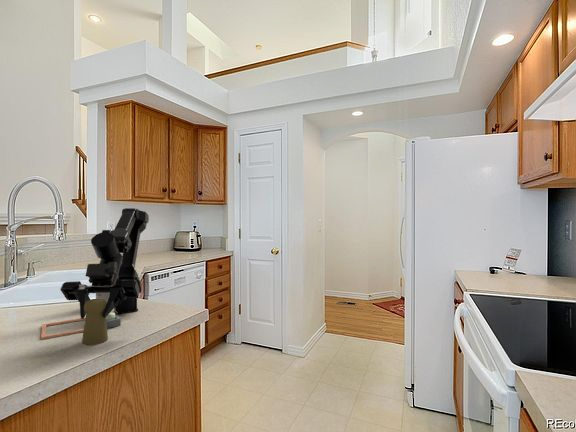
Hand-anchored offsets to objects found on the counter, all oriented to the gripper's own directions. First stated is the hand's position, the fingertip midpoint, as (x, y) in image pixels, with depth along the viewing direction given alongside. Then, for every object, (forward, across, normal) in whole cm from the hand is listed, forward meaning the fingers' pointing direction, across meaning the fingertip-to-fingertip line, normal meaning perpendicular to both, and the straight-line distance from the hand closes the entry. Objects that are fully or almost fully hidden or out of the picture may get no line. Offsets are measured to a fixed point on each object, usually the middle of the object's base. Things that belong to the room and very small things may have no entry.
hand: (93, 317), depth 83 cm
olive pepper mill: (+4, 0, +6) cm, 7 cm away
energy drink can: (-22, -10, +32) cm, 41 cm away
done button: (-5, 0, +14) cm, 15 cm away
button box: (-5, 0, +14) cm, 15 cm away
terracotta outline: (-5, -12, +14) cm, 19 cm away
